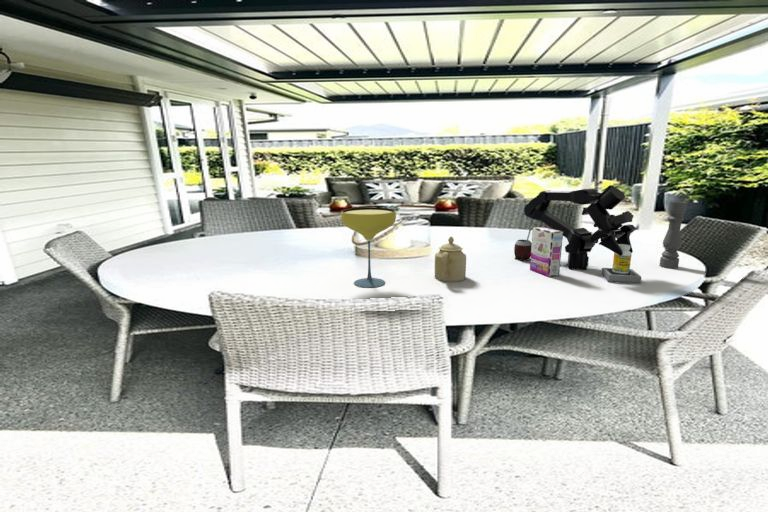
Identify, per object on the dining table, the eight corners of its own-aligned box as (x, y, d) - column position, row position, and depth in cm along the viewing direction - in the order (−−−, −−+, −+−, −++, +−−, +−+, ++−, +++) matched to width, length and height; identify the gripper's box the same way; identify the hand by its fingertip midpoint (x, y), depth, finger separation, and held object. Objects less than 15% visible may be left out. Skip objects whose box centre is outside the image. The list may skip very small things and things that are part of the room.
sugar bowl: (472, 284, 150) (474, 241, 146) (440, 285, 148) (441, 242, 145) (460, 272, 164) (462, 233, 160) (431, 273, 163) (432, 233, 159)
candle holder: (681, 268, 168) (692, 202, 162) (665, 268, 168) (675, 203, 162) (671, 264, 174) (681, 201, 168) (655, 264, 174) (664, 201, 168)
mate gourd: (513, 260, 181) (515, 224, 178) (514, 256, 188) (516, 221, 185) (532, 262, 179) (535, 225, 175) (532, 257, 186) (535, 222, 183)
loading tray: (608, 282, 151) (609, 275, 151) (601, 274, 161) (602, 267, 160) (640, 283, 149) (641, 276, 149) (631, 275, 159) (632, 269, 158)
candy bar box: (560, 276, 159) (564, 231, 155) (548, 277, 157) (552, 232, 154) (539, 268, 169) (543, 226, 165) (528, 269, 168) (532, 227, 164)
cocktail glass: (356, 273, 163) (355, 206, 157) (403, 278, 157) (403, 208, 151) (333, 287, 147) (331, 213, 141) (384, 293, 140) (384, 215, 134)
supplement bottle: (623, 269, 157) (627, 243, 155) (632, 274, 152) (636, 246, 150) (608, 269, 157) (612, 243, 155) (616, 274, 152) (620, 246, 150)
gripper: (601, 205, 148) (628, 243, 141) (634, 201, 157) (661, 237, 150) (578, 224, 156) (603, 262, 150) (610, 220, 165) (635, 255, 159)
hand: (626, 253), depth 152 cm, fingers closed on supplement bottle, 5 cm apart
